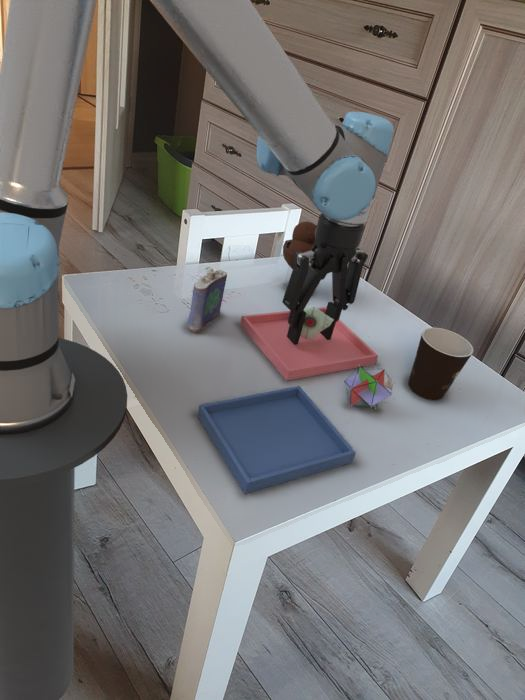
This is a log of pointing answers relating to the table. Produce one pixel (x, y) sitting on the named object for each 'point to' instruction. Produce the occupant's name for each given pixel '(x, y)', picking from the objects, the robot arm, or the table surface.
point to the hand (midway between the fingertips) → (308, 337)
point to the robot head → (314, 322)
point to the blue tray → (274, 437)
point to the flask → (206, 299)
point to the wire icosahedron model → (369, 387)
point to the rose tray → (306, 347)
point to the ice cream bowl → (299, 242)
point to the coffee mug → (438, 362)
